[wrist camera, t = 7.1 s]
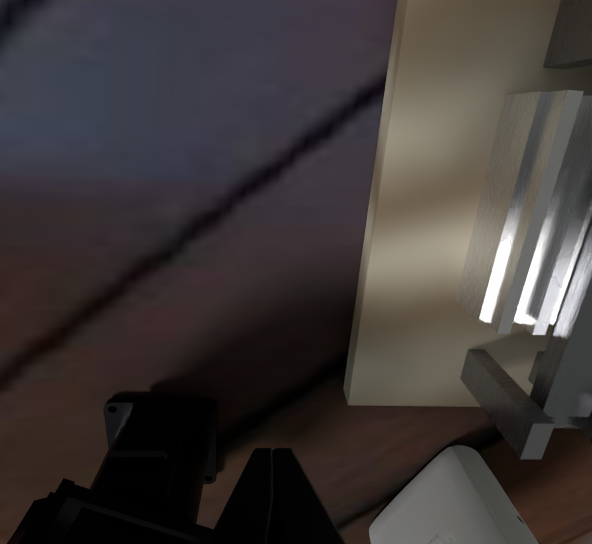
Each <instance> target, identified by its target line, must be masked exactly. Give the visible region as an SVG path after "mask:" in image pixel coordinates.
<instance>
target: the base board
mask: <svg viewBox="0 0 592 544" xmlns="http://www.w3.org/2000/svg"><path fill="white" fill-rule="evenodd" d="M560 1H561V0H397V7H396V14H395V21H394V28H393V35H392V43H391V50H390V57H389V64H388V71H387V79H386V86H385V93H384V100H383V107H382V115H381V122H380V129H379V136H378V143H377V150H376V158H375V165H374V172H373V179H372V186H371V194H370V201H369V208H368V215H367V222H366V230H365V237H364V244H363V251H362V258H361V266H360V273H359V280H358V287H357V294H356V301H355V309H354V316H353V323H352V330H351V337H350V345H349V352H348V359H347V366H346V373H345V381H344V388H343V389H344V393H345V396H346V400H347V404H348V405H368V406H458V407H481V406H480V405H479V403H478V402H477V401H476V399H475V398H474V397H473V395H472V394H471V393H470V391H469V390H468V389H467V387H466V386H465V385H464V383H463V382H462V381H461V379H460V377H461V373H462V369H463V366H464V362H465V358H466V354H467V351H468V349H481V350H486V351H487V352H488V354H489V355H490V356H491V357H492V358H493V359H494V360H495V361H496V362H497V363H498V364H499V365H500V366H501V367H502V368H503V369H504V370H505V371H506V372H507V374H508V375H509V376H510V377H511V378H512V379H513V380H514V381H515V382H516V383H517V384H518V385H519V386H520V387H521V388H522V389H523V390H524V391H525V392H526V393H527V395H528V396H530V393H531V390H532V388H533V384H532V383H530V382H529V381H528V378H529V375H530V372H531V369H532V366H533V363H534V361H535V358H536V355H537V352H538V351H545V350H546V347H547V344H548V341H549V338H550V335H551V332H552V329H553V325H552V324H549V325H548V328H547V330H546V333H545V335H532V334H531V333H530V332H529V331H527V330H526V329H525V328H524V327H522V326H521V325H520V324H519V323H513V325H512V328H511V331H510V334H497V333H496V332H495V331H494V330H493V329H491V328H490V327H489V326H488V325H487V324H486V323H485V322H478V321H477V320H476V319H475V318H474V317H473V316H472V315H471V314H470V313H469V312H468V311H467V310H466V309H464V308H463V307H462V306H461V305H460V304H459V303H458V302H457V301H456V297H457V293H458V288H459V284H460V280H461V276H462V272H463V268H464V264H465V259H466V255H467V251H468V247H469V243H470V239H471V234H472V230H473V226H474V222H475V218H476V214H477V209H478V205H479V201H480V197H481V193H482V189H483V185H484V180H485V176H486V172H487V168H488V164H489V160H490V155H491V151H492V147H493V143H494V139H495V135H496V130H497V126H498V122H499V118H500V114H501V110H502V105H503V101H504V97H505V95H512V94H521V93H530V92H539V91H542V92H553V91H563V90H575V91H584V92H583V95H587V96H591V95H592V65H589V66H583V67H577V68H571V69H565V70H562V69H552V68H543V65H544V61H545V57H546V54H547V50H548V46H549V42H550V39H551V35H552V31H553V27H554V24H555V20H556V16H557V12H558V8H559V5H560Z"/></svg>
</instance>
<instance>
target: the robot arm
mask: <svg viewBox="0 0 592 544" xmlns="http://www.w3.org/2000/svg"><path fill="white" fill-rule="evenodd" d="M111 406H114V407H116V408H112V407H111ZM205 407H210V408H211V409H206V408H205ZM104 416H105V424H106V431H107V439H108V447H109V450H108V452H107V454H106V456H105V458H104V460H103V462H102V464H101V466H100V468H99V471H98V473H97V475H96V477H95V479H94V481H93V483H92V485H91V487H90V489H88V488H84V487H81V486H78V485H75V484H74V483H75V482H74V481H71V480H68V479H65V478H64V479H63V480H62V482H61V484H60V485H59V487H58V489H57V490H56V492H55V493H53V492H50V493H49V495H48V497H47V498H43V499H39V500H35V501H34V502H33V503H32V505H31V507H30V508H29V510H28V512H27V513H26V515H25V516H24V518H23V520H22V521H21V523H20V525H19V526H18V528H17V529H16V531H15V532H14V534H13V536H12V537H11V538H10V540H9V541H8V543H7V544H346V543H345V541H344V540H343V538H342V536H341V534H340V532H339V531H338V529H337V527H336V525H335V524H334V522H333V520H332V518H331V517H330V515H329V513H328V511H327V510H326V508H325V506H324V504H323V503H322V501H321V499H320V497H319V496H318V494H317V492H316V490H315V489H314V487H313V485H312V483H311V482H310V480H309V478H308V476H307V475H306V473H305V471H304V469H303V468H302V466H301V464H300V462H299V460H298V459H297V457H296V455H295V453H294V452H293V450H292V449H290V448H275V449H274V450H272V449H271V448H256V449H254V451H253V452H252V454H251V456H250V458H249V460H248V462H247V464H246V466H245V468H244V470H243V472H242V474H241V476H240V478H239V480H238V482H237V484H236V486H235V488H234V490H233V492H232V494H231V496H230V498H229V500H228V502H227V504H226V506H225V508H224V510H223V512H222V514H221V516H220V518H219V520H218V522H217V524H216V526H215V528H214V529H211V528H208V527H204V526H201V525H198V524H196V522H197V517H198V511H199V505H200V500H201V494H202V488H203V484H212V483H214V482H215V481H216V476H217V405H216V403H215V401H213V400H210V399H150V398H111V399H109V400H108V401H107V402H106V404H105V406H104ZM208 475H209V476H208Z"/></svg>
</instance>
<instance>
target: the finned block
mask: <svg viewBox="0 0 592 544" xmlns="http://www.w3.org/2000/svg"><path fill="white" fill-rule="evenodd" d="M583 92H584V91H575V90H563V91H553V92H542V91H539V92H530V93H521V94H512V95H505V97H504V101H503V105H502V110H501V114H500V118H499V122H498V126H497V130H496V135H495V139H494V143H493V147H492V151H491V155H490V160H489V164H488V168H487V172H486V176H485V180H484V185H483V189H482V193H481V197H480V201H479V205H478V209H477V214H476V218H475V222H474V226H473V230H472V234H471V239H470V243H469V247H468V251H467V255H466V259H465V264H464V268H463V272H462V276H461V280H460V284H459V288H458V293H457V297H456V301H457V302H458V303H459V304H460V305H461V306H462V307H463V308H464V309H466V310H467V311H468V312H469V313H470V314H471V315H472V316H473V317H474V318H475V319H476V320H477V321H478V322H485V323H486V324H487V325H488V326H489V327H490V328H491V329H493V330H494V331H495V332H496V333H497V334H510V331H511V328H512V325H513V323H519V324H520V325H521V326H522V327H524V328H525V329H526V330H527V331H529V332H530V333H531V334H532V335H545V333H546V330H547V328H548V325H549V324H552V325H553V326H554V323H555V321H556V318H557V315H558V312H559V309H560V306H561V303H562V300H563V297H564V294H565V291H566V289H567V286H568V283H569V280H570V277H571V274H572V271H573V268H574V265H575V262H576V259H577V256H578V254H579V251H580V248H581V245H582V242H583V239H584V236H585V233H586V230H587V227H588V224H589V222H590V219H591V216H592V95H591V96H587V95H583Z"/></svg>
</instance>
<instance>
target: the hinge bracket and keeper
mask: <svg viewBox="0 0 592 544" xmlns="http://www.w3.org/2000/svg"><path fill="white" fill-rule="evenodd" d="M589 65H592V0H561V1H560V5H559V8H558V12H557V16H556V20H555V24H554V27H553V31H552V35H551V39H550V42H549V46H548V50H547V54H546V57H545V61H544V65H543V68H552V69H562V70H565V69H571V68H577V67H583V66H589ZM544 353H545V351H538V352H537V355H536V358H535V361H534V363H533V366H532V369H531V372H530V375H529V378H528V381H529V382H530V383H532V384H533V385H534V382H535V379H536V376H537V373H538V370H539V367H540V364H541V361H542V358H543V356H544ZM460 379H461V381H462V382H463V383H464V385H465V386H466V387H467V389H468V390H469V391H470V393H471V394H472V395H473V397H474V398H475V399H476V401H477V402H478V403H479V405H480V406H481V407H482V409H483V410H484V411H485V413H486V414H487V415H488V417H489V418H490V419H491V421H492V422H493V423H494V425H495V426H496V427H497V429H498V430H499V431H500V433H501V434H502V435H503V437H504V438H505V439H506V441H507V442H508V444H509V445H510V446H511V448H512V449H513V450H514V452H515V453H516V454H517V456H518V457H519V458H520V459H542V456H543V454H544V451H545V449H546V446H547V444H548V441H549V438H550V436H551V433H552V431H553V428H554V426H555V423H554V422H553V421H552V420H551V419H550V418H549V417H548V416H547V415H546V413H545V412H544V411H543V410H542V409H541V408H540V407H539V406H538V405H537V404H536V403H535V402H534V401H533V400H532V399H531V398H530V397H529V396H528V395H527V393H526V392H525V391H524V390H523V389H522V388H521V387H520V386H519V385H518V384H517V383H516V382H515V381H514V380H513V379H512V378H511V377H510V376H509V375H508V374H507V372H506V371H505V370H504V369H503V368H502V367H501V366H500V365H499V364H498V363H497V362H496V361H495V360H494V359H493V358H492V357H491V356H490V355H489V354H488V352H487V351H486V350H481V349H468V351H467V354H466V358H465V362H464V366H463V369H462V373H461V377H460ZM577 429H578V430H579V431H580V432H581V433H582V434H583V435H584V436H585V437H586V438H587V439H588V440H589V441H590V442H591V443H592V411H591V413H590V416H589V423H588V425H587V427H585V428H577Z"/></svg>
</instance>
